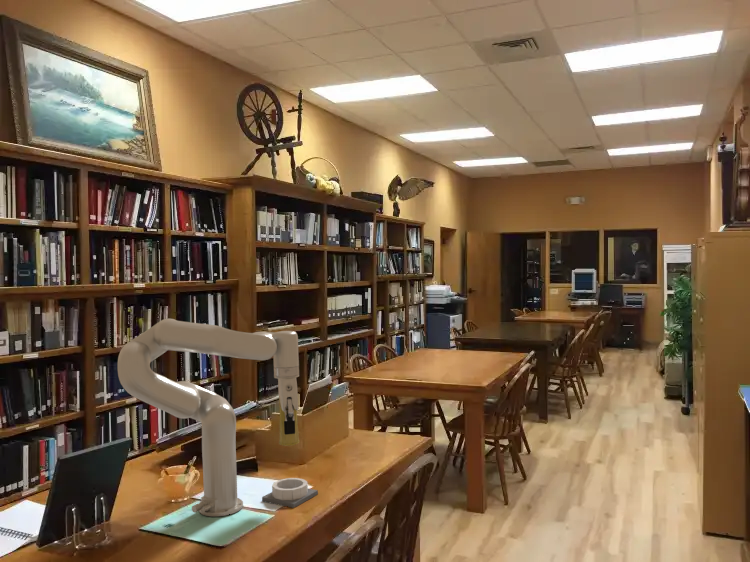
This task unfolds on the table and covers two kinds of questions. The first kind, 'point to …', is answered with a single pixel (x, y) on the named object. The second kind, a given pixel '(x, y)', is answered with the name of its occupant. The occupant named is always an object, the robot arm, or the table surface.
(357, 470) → the table surface
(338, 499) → the table surface
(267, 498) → the mount
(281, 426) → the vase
